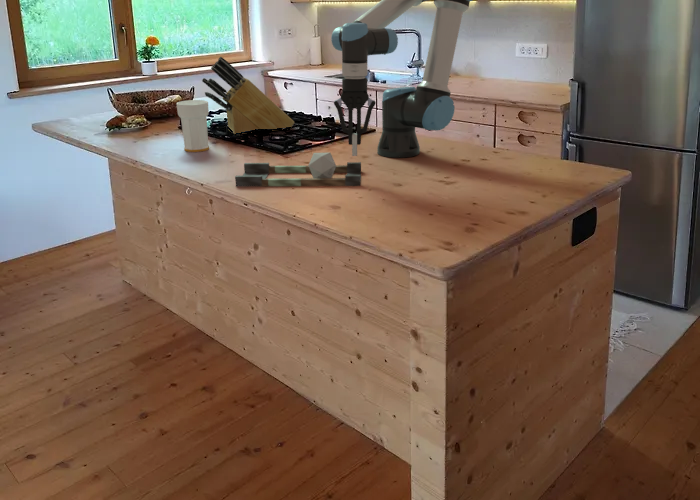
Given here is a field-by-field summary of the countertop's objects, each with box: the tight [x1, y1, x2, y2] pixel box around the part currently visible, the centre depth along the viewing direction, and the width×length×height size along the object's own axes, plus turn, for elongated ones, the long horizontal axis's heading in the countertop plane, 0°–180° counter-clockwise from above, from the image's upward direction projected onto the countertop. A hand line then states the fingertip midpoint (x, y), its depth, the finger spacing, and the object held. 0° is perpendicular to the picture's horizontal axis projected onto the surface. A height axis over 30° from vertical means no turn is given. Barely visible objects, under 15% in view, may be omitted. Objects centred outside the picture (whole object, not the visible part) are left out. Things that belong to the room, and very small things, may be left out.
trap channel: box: [234, 161, 362, 187], centre depth 219 cm, size 38×17×3 cm, turn 88°
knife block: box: [201, 56, 295, 135], centre depth 283 cm, size 11×35×31 cm, turn 113°
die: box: [307, 152, 336, 178], centre depth 218 cm, size 8×9×10 cm
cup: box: [176, 99, 210, 153], centre depth 256 cm, size 11×11×17 cm
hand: (354, 154), depth 216 cm, fingers closed
